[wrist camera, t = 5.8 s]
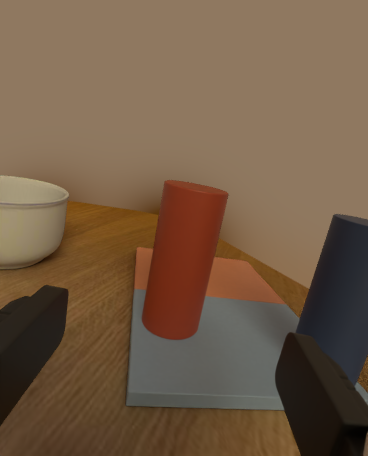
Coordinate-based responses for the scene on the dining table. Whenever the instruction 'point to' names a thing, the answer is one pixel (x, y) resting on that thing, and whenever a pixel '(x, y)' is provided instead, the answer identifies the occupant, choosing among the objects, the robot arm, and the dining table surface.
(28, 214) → the teacup
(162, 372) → the board
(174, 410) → the dining table surface
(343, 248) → the blue pin
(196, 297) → the rust pin
